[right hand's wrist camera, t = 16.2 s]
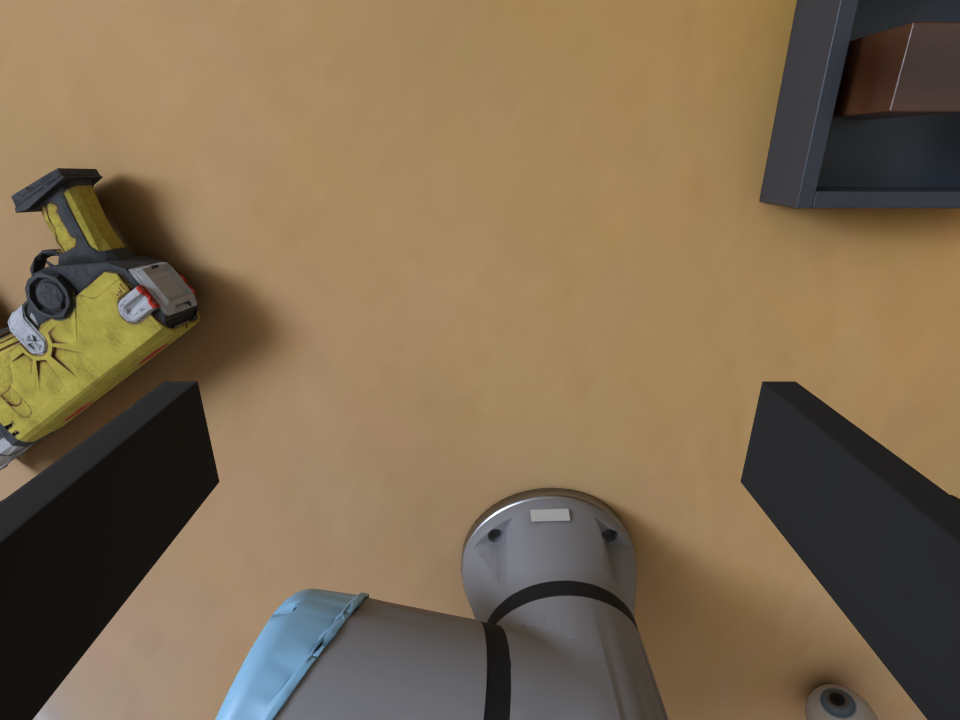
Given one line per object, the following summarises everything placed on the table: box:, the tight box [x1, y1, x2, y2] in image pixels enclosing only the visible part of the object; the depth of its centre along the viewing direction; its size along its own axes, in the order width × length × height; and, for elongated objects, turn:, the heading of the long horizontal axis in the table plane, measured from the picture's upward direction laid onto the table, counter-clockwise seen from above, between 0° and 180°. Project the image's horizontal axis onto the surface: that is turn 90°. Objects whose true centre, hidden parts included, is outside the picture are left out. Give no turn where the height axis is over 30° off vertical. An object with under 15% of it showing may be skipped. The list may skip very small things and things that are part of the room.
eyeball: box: [805, 684, 878, 720], centre depth 51 cm, size 6×6×6 cm
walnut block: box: [832, 22, 960, 119], centre depth 30 cm, size 4×4×7 cm
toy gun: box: [0, 168, 200, 470], centre depth 37 cm, size 5×24×15 cm
